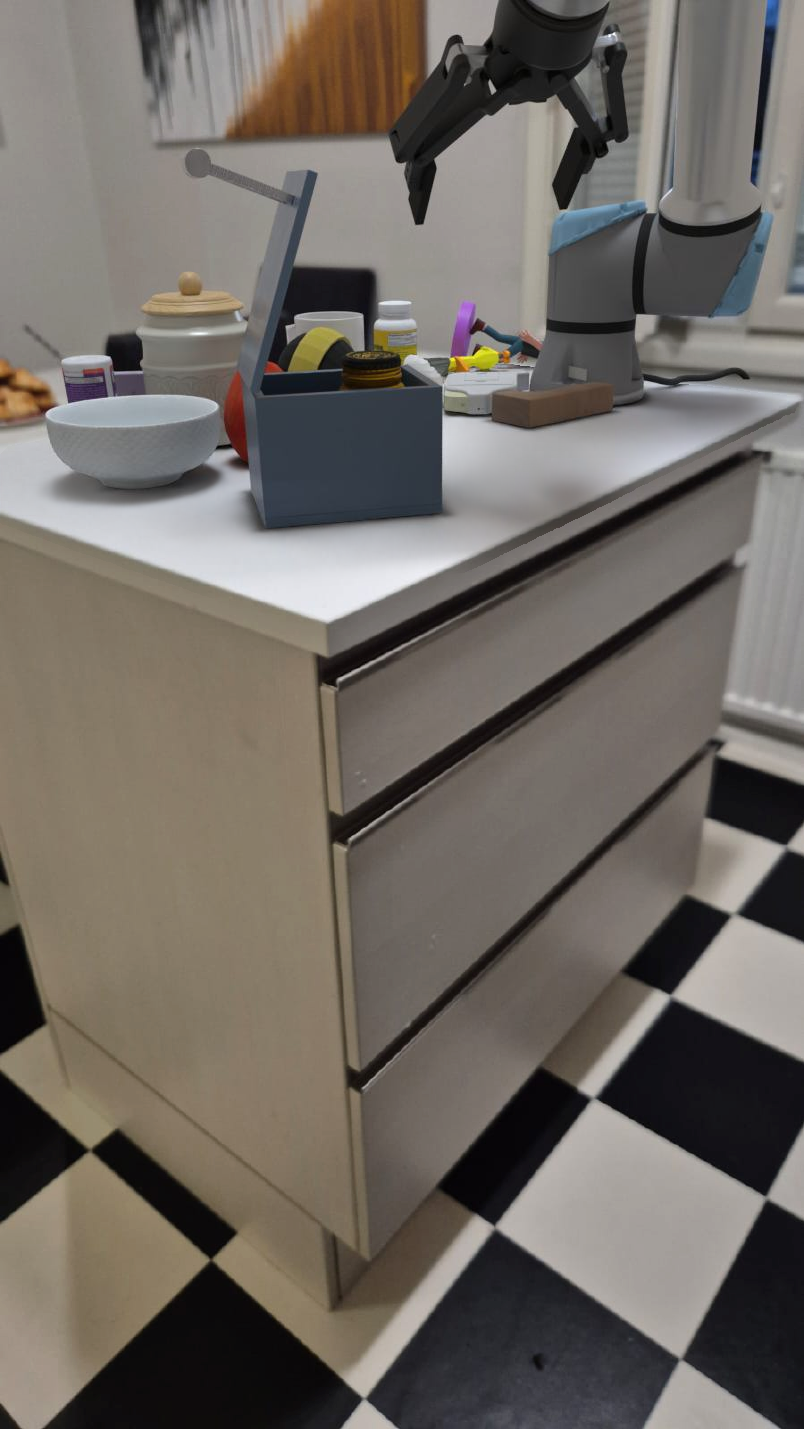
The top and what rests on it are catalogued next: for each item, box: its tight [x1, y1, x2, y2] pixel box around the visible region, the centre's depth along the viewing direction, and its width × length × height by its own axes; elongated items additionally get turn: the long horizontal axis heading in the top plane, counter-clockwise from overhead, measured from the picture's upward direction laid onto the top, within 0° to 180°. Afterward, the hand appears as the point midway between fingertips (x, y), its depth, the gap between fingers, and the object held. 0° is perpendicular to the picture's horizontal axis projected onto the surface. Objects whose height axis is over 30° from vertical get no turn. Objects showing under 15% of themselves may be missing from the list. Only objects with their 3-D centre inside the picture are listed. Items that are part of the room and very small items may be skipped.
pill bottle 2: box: [373, 300, 418, 365], centre depth 142 cm, size 6×6×11 cm
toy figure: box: [447, 345, 511, 374], centre depth 151 cm, size 7×4×12 cm
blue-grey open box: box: [241, 365, 444, 530], centre depth 89 cm, size 16×12×11 cm
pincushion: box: [404, 354, 446, 387], centre depth 131 cm, size 12×6×6 cm
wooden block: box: [491, 382, 614, 429], centre depth 123 cm, size 7×3×15 cm
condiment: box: [339, 349, 405, 391], centre depth 89 cm, size 7×8×12 cm
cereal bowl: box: [44, 395, 221, 490], centre depth 98 cm, size 17×17×7 cm
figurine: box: [449, 300, 544, 364], centre depth 155 cm, size 9×9×18 cm
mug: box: [284, 311, 366, 351], centre depth 130 cm, size 12×9×11 cm
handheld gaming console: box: [443, 370, 530, 415], centre depth 130 cm, size 11×3×15 cm
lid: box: [181, 147, 319, 393], centre depth 80 cm, size 17×12×9 cm
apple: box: [223, 360, 283, 464], centre depth 104 cm, size 8×8×11 cm
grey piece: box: [422, 356, 450, 377], centre depth 150 cm, size 12×2×5 cm
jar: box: [135, 271, 248, 447], centre depth 112 cm, size 13×13×18 cm
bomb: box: [277, 327, 355, 372], centre depth 119 cm, size 11×11×15 cm
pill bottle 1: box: [60, 354, 118, 404], centre depth 110 cm, size 5×5×10 cm
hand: (488, 204), depth 88 cm, fingers open, 13 cm apart
